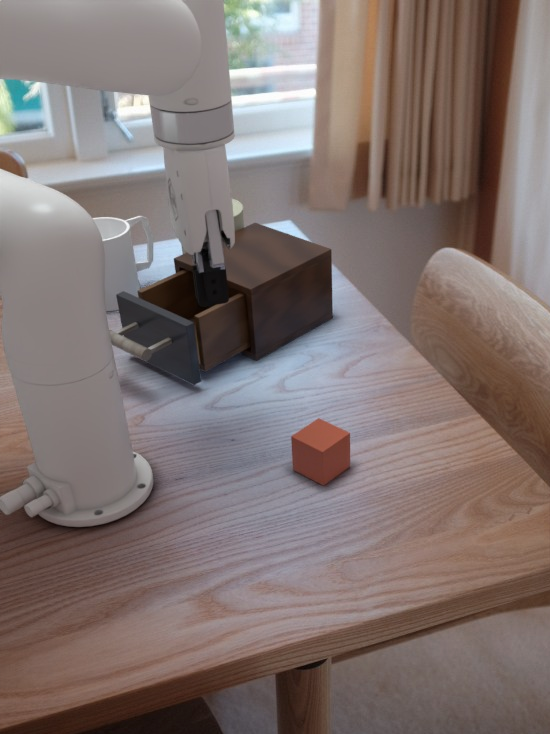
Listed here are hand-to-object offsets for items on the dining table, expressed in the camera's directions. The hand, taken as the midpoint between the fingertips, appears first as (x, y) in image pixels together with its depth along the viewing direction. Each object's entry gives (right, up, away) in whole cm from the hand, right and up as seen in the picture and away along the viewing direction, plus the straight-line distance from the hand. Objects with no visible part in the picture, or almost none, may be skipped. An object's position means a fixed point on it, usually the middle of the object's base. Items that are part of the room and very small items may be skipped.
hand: (212, 301), depth 96 cm
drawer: (-6, -3, +18) cm, 19 cm away
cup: (-17, +9, +33) cm, 38 cm away
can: (-4, +10, +34) cm, 36 cm away
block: (+12, -18, +1) cm, 21 cm away
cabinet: (+2, +3, +26) cm, 26 cm away
